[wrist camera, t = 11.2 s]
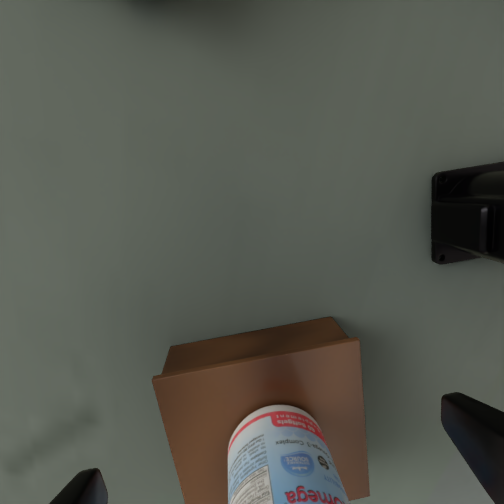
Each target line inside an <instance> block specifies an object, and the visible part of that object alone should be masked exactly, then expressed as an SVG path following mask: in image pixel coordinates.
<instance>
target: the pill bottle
mask: <svg viewBox="0 0 504 504" xmlns="http://www.w3.org/2000/svg"><path fill="white" fill-rule="evenodd" d="M228 504H350V503H349V500H348V497H347V495H346V492H345V490H344V487H343V485H342V482H341V480H340V477H339V475H338V472H337V469H336V467H335V464H334V462H333V459H332V457H331V454H330V451H329V449H328V446H327V444H326V441H325V439H324V436H323V434H322V431H321V429H320V427H319V425H318V424H317V422H316V421H315V420H314V419H313V418H312V417H311V416H310V415H309V414H308V413H306V412H305V411H303V410H301V409H299V408H296V407H293V406H289V405H271V406H266V407H263V408H260V409H258V410H256V411H254V412H253V413H251V414H250V415H248V416H247V417H246V418H245V419H244V420H243V421H242V422H241V423H240V424H239V425H238V427H237V428H236V430H235V431H234V433H233V435H232V437H231V439H230V442H229V447H228Z"/></svg>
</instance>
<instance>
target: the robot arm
mask: <svg viewBox="0 0 504 504" xmlns="http://www.w3.org/2000/svg"><path fill="white" fill-rule="evenodd" d="M440 177H442V181H441V182H440ZM431 239H432V261H433V262H435V263H437V264H447V263H453V262H458V261H464V260H469V259H475V258H481V257H483V258H486V259H490V260H494V261H497V262H501V263H504V162H499V163H493V164H486V165H480V166H474V167H467V168H461V169H455V170H448V171H442V172H437V173H436V174H434V176H433V177H432V206H431ZM440 255H441V258H440V259H439V256H440ZM441 421H442V425H443V427H444V429H445V431H446V432H447V434H448V435H449V437H450V438H451V440H452V441H453V443H454V444H455V446H456V447H457V449H458V450H459V452H460V453H461V455H462V456H463V458H464V459H465V461H466V462H467V464H468V465H469V467H470V468H471V470H472V471H473V473H474V474H475V476H476V477H477V479H478V480H479V482H480V483H481V485H482V486H483V487H484V489H485V490H486V492H487V493H488V495H489V496H490V497H491V499H492V500H493V501H494V503H495V504H504V412H502V411H500V410H498V409H496V408H493V407H491V406H489V405H487V404H484V403H482V402H480V401H478V400H475V399H473V398H471V397H469V396H466V395H464V394H462V393H459V392H454V393H449V394H445V395H443V396H442V399H441ZM107 503H108V492H107V489H106V486H105V483H104V480H103V478H102V475H101V472H100V470H99V469H98V468H93V469H88V470H83V471H81V472H79V473H78V474H77V475H76V476H75V477H74V478H73V479H72V480H71V481H70V482H69V483H68V484H67V485H66V486H65V487H64V488H63V490H62V491H61V492H60V493H59V494H58V495H57V496H56V497H55V498H54V499H53V500H52V501H51V502H50V503H49V504H107Z"/></svg>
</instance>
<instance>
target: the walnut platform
mask: <svg viewBox="0 0 504 504" xmlns="http://www.w3.org/2000/svg"><path fill="white" fill-rule="evenodd" d="M152 383H153V386H154V390H155V394H156V397H157V401H158V405H159V408H160V412H161V416H162V419H163V423H164V427H165V430H166V434H167V438H168V441H169V445H170V449H171V452H172V456H173V460H174V463H175V467H176V471H177V474H178V478H179V482H180V486H181V489H182V493H183V497H184V500H185V504H228V447H229V442H230V439H231V437H232V435H233V433H234V431H235V430H236V428H237V427H238V425H239V424H240V423H241V422H242V421H243V420H244V419H245V418H246V417H247V416H248V415H250V414H251V413H253V412H254V411H256V410H258V409H260V408H263V407H266V406H271V405H289V406H293V407H296V408H299V409H301V410H303V411H305V412H306V413H308V414H309V415H310V416H311V417H312V418H313V419H314V420H315V421H316V422H317V424H318V425H319V427H320V429H321V431H322V434H323V436H324V439H325V441H326V444H327V446H328V449H329V451H330V454H331V457H332V459H333V462H334V464H335V467H336V469H337V472H338V475H339V477H340V480H341V482H342V485H343V487H344V490H345V492H346V495H347V497H348V500H349V501H351V500H355V499H359V498H364V497H368V496H370V490H369V475H368V460H367V445H366V429H365V414H364V399H363V383H362V368H361V353H360V340H359V339H358V338H357V337H354V338H349V337H348V336H347V335H346V334H345V333H344V331H343V330H342V329H341V328H340V327H339V325H338V324H337V323H336V322H335V321H334V319H333V318H332V317H326V318H321V319H315V320H310V321H305V322H299V323H294V324H289V325H283V326H278V327H273V328H267V329H262V330H257V331H251V332H246V333H241V334H235V335H230V336H225V337H219V338H214V339H209V340H203V341H198V342H193V343H187V344H182V345H177V346H171V347H170V350H169V353H168V356H167V359H166V362H165V365H164V368H163V371H162V374H161V375H157V376H153V379H152Z"/></svg>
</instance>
